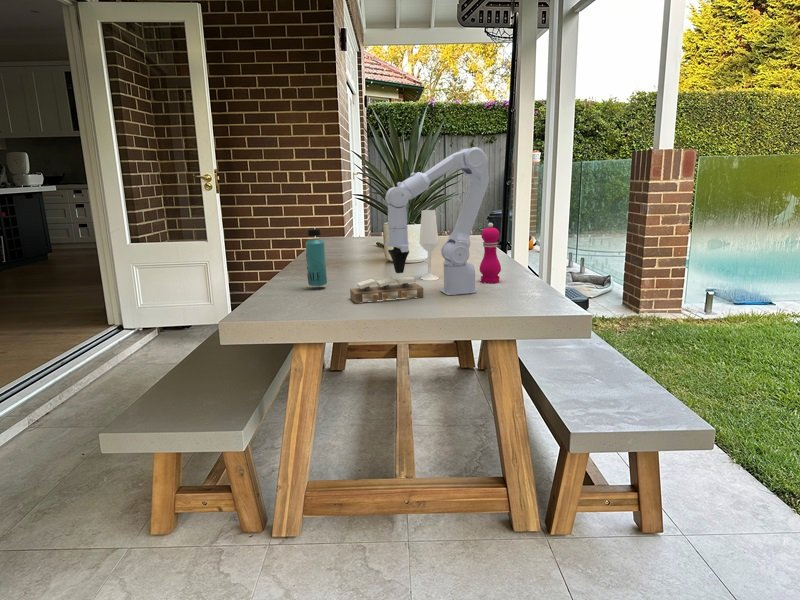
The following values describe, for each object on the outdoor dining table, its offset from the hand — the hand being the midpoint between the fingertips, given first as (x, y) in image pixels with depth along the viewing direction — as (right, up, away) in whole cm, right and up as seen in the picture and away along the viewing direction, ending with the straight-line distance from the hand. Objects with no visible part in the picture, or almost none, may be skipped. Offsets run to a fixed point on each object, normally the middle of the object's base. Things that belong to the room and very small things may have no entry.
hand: (399, 272), depth 167 cm
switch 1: (-10, -4, -2) cm, 11 cm away
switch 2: (-4, -3, 0) cm, 5 cm away
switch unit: (-4, -8, +1) cm, 9 cm away
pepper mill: (+31, -2, +20) cm, 37 cm away
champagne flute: (+11, -1, +29) cm, 31 cm away
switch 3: (+2, -3, +1) cm, 3 cm away
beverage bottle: (-27, -5, +18) cm, 33 cm away
